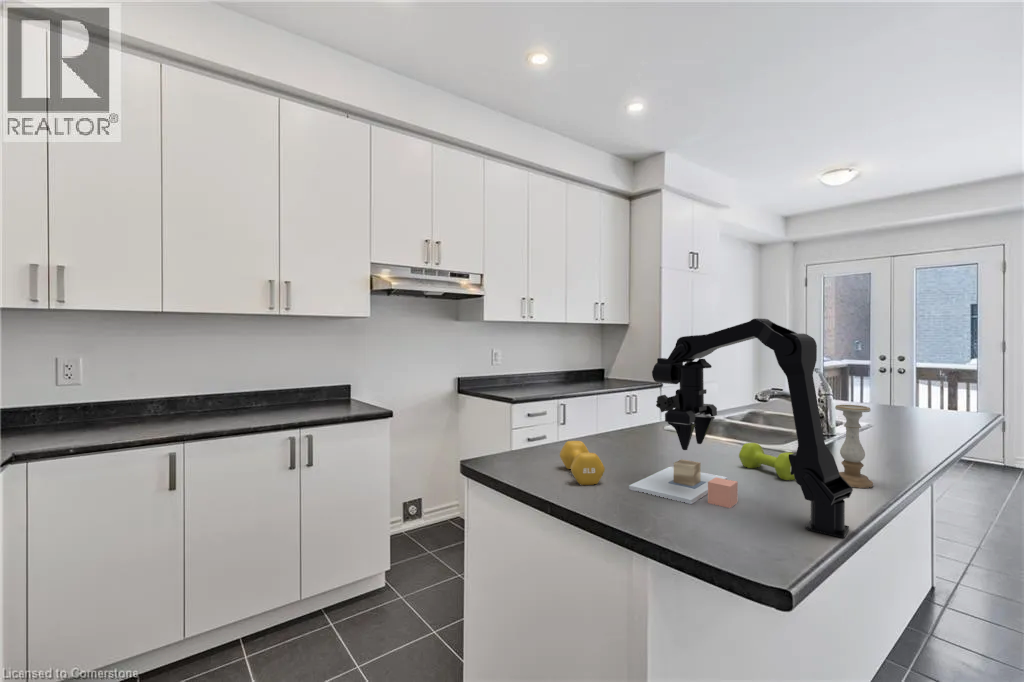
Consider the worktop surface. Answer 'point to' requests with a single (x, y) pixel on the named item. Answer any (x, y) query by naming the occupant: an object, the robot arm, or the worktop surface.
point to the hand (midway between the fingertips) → (692, 446)
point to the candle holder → (853, 447)
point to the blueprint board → (673, 486)
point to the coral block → (723, 492)
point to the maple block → (687, 472)
